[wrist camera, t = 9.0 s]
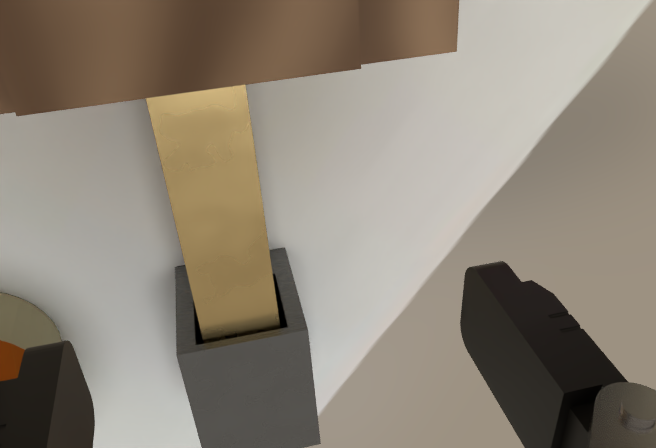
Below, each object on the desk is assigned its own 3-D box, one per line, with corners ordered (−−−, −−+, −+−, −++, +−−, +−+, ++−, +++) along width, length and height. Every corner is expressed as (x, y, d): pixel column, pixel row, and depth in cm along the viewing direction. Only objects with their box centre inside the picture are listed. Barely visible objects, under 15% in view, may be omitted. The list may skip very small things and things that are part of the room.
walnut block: (-47, 67, 31) (-107, 133, 24) (-86, -30, 28) (-164, 13, 22) (403, 10, 34) (460, 54, 27) (403, -81, 31) (466, -57, 25)
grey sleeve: (201, 374, 45) (207, 468, 38) (175, 267, 39) (176, 355, 33) (298, 354, 46) (320, 443, 39) (285, 247, 40) (307, 329, 34)
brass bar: (210, 337, 39) (214, 386, 36) (130, -12, 28) (125, 10, 24) (276, 324, 40) (286, 372, 36) (224, -23, 28) (232, -3, 25)
